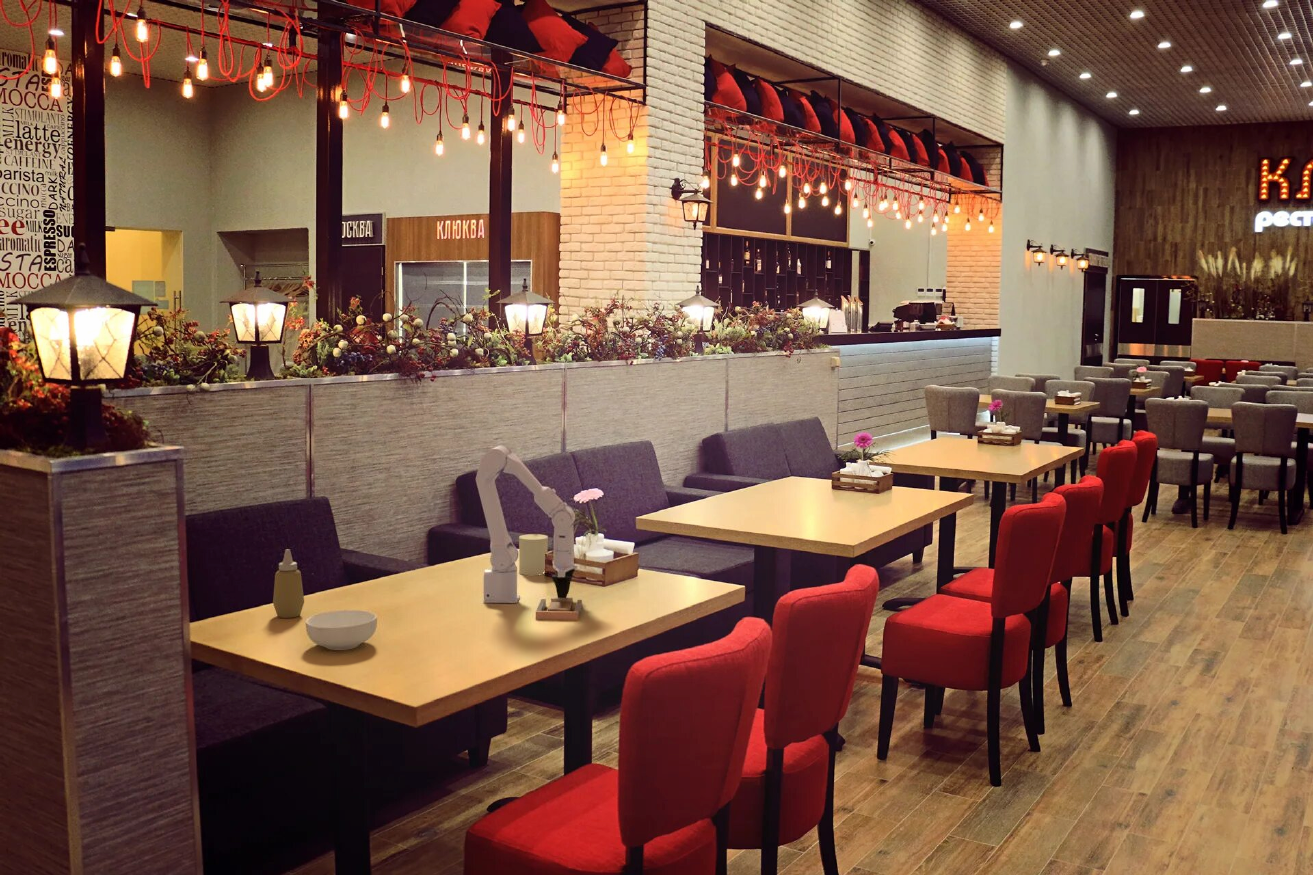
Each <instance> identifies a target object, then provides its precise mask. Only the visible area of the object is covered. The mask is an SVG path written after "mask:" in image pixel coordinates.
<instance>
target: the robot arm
mask: <svg viewBox="0 0 1313 875" xmlns="http://www.w3.org/2000/svg"><path fill="white" fill-rule="evenodd" d="M501 471H502V472H503V473H505V474H511V475H514V476H515V477H516V479H518V480H519V481H520V482H521V483H522V484H523V485H524V486H525V487H526V488H527V489H528V490H529V491H530V492H531V493H532V494H533V497H534V498H533V500H534V501H533V502H534V503H536V505H537V506H539V508H540V509H541V510H542V511H543V512H544V514H546V515H547V516H548V518H551V524H552V525H553V527H554V528H553V564H552V569H554V571H555V573H556V574H552V576H551V579H552V582H553V583H554V585H555V586H554V587H555V590H556V595H557V598H568V594H569V593H570V592H569V591H570V587H571V581H572V578H573V574H574V573H575V570H576V569H578V567H579V564H577V563H575V564H574V560H575V558H574V556H575V555H574V554H575V545H574V544H575V533H574V522H575V520H576V513H575V511H574V509H573V507H572V506H570V505H568V504H567V502H566V501H565V502H564V501H563V500H562V499H561V498H560V497H559V496H558V495H557V494H556V492H557V491H556V490H555V488H550V487H549V486H543V485H542V484H541V483H540V481H539V480H538V479H537V478H536V477H535V475H534V474H533V473H532V471H530V470H529V468H528V467H527V466H526V465H525V464H524V463H523V461H522V460H521V459H520V458H519V457H518V456H517V454H516V453H515V452H512V450H511V449H510V448H509V446H506V445H503V444H501V445H500V444H499V445H496V446H495V447H493V448H490V449H488V450H487V451H486V452H485V453H484V455H482V457H481V458H480V463H479V466H478V469H477V473H476V477H475V483H476V487H477V490H478V494H479V497H480V502H481V506H482V509H483V514H484V518H485V522H486V525H487V529H488V530H487V531H488V533H489V537H490V545H489V548H490V549H489V550H490V559H489V562H490V564H491V568H488V569H487V568H486V569H484V571H483V572H484V573H483V601H482V602H483V603H485V604H487V603H492V604H495V603H496V604H499V603H500V604H502V603H503V604H508V603H509V604H517V603H518V601H519V599H520V597H521V595H520V594H518V567H517V565H516V562H517V561H518V560H519V550H518V548H517V547H516V546H515V544H514V543H513V540H512V539H513V538H512V537H511V536H510V534H509V533H508V529H507V525H506V521H505V517H504V513H503V508H502V506H501V501H500V496H499V493H498V490H497V485H496V482H495V481H496V479H497V478H498V476H499V475H500V473H501Z"/></svg>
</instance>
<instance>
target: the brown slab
mask: <svg viewBox="0 0 1313 875" xmlns="http://www.w3.org/2000/svg"><path fill="white" fill-rule="evenodd" d="M573 601H574V599H573V597H567V598H558V597H550V603H549V605H548V608H547V611H572V607H573V604H574V602H573Z"/></svg>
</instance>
